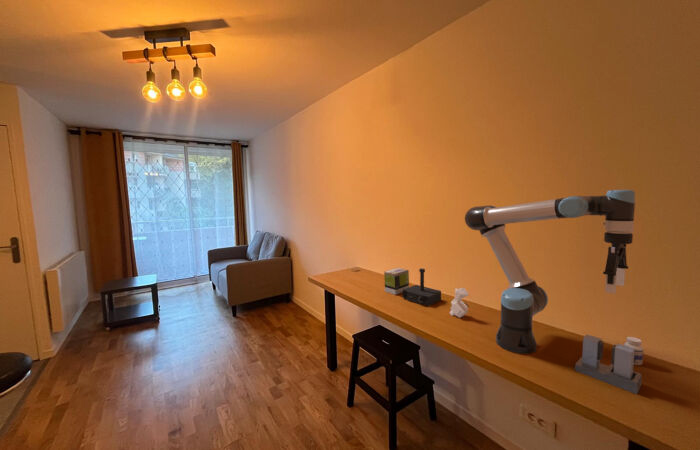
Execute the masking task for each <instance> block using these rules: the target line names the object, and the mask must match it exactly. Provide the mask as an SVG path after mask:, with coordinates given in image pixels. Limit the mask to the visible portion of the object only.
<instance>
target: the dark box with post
mask: <svg viewBox="0 0 700 450" xmlns="http://www.w3.org/2000/svg"><path fill="white" fill-rule="evenodd" d="M418 271H419V282H420V283H419V285H418V284H415V285H412V286H409V288H406V289H403V292H402V299H404V300H406V299H407V301H409V302H410V303H411V302H412V303H415V304H418V305H422V306H423V305H424V306H427V307H430V306H432V305H434V304H436V303H439V302H440V301H442V291H441V290H440V289H435V288H431V287H426V286H425V272H426V268H419V270H418Z"/></svg>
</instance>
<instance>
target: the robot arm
mask: <svg viewBox="0 0 700 450" xmlns="http://www.w3.org/2000/svg"><path fill="white" fill-rule="evenodd" d="M635 208H636V192H635V191H634V190H632V189H615V190H614V189H610V190H607V191H606V193H605V195H572V196H567V197H562V198H556V199H548V200H541V201H534V202H525V203H519V204H513V205H512V204H511V205H505V206H499V207H497V206H494V205H482V206H473V207H471V208H469V209H468V210H467V212H466V213H465V215H464V221H465V224H466V226H467V227H468V228H469V229H471V230H473V231H479V233H480V236H481V237H484V238H486V240H487V242H488V243H489V245H490V247H491V250H492V251H493V253H494V255H495V257H496V259H497V261H498V263H499V265H500V267H501V269H502V271H503V273H504V275H505V278H506V279H507V281H508V283H509V285H508V288H506V289H505V290H503V291H502V292H501V296H500V325H499V327H498V330H497V332H496V334H495V342H496V344H497V345H498V346H499V347H501V348H503V349H504V350H507V351H508V352H512V353H515V354H522V355H525V354H526V355H527V354H534V353H535V352H536V351H537V347H538V346H537V345H538V344H537V341H536V339H535V335H534V331H533V319H534V316H536V314H538V313H540V312H542V311H543V310H544V309H545V308H546V307H547V306H548V303H549V302H548V301H549V298H548V294H547V292H546V290H544V288H543V287H541V286H539V285H538V284H537V282H536V280H535V279H533V278H531V277H530V276H529V275H528V273H527V271H526V270H525V267H524V265H523V263H522V261H521V260H520V258H519V255H518V254H517V252H516V250H515V248H514V247H513V245H512V243H511V241H510V238H509V237H508V235H507V233H506V231H505V230H506V225H507V224H518V223H525V222H526V223H527V222H528V223H529V222H538V221H548V220H550V221H551V220H558V219H575V218H580V217H585V216H601V217H602V216H603V217H605V219H604V220H605V222H603V223H602V224H603V226H604V231H605V232H604V233H603V234H604V236H603V241H604V242H605V243H608V244H611V245H610V246H608V248H607V249H608V251H607V257H606V263H605V267H604V268H605V269H604V271H602V274H603V275H605V284H604V285H605V286H604V287H605V288H604V289H605V290H604V292H605V293H610V294H613V295H615V294H616V292H617V286H620V287H624V286H625V282H626V281H625V279H626V270H628V269H629V266H628V263H627V262H628V261H627V245H631V244H633V239H634V234H633V232H634V224H635Z"/></svg>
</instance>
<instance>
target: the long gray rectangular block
mask: <svg viewBox="0 0 700 450" xmlns="http://www.w3.org/2000/svg"><path fill="white" fill-rule="evenodd" d="M634 350H635V348H631V347H628V346H625V345H624V344H621V343H617V344H614V345H613V346H612V347H611V359H610V361H611V363H610V364H612V365H614V374H617V375H620V376H622V377H625V378H628V379H632V377H633V371H634V365H635V364H634Z"/></svg>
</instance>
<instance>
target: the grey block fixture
mask: <svg viewBox="0 0 700 450" xmlns="http://www.w3.org/2000/svg"><path fill="white" fill-rule="evenodd" d="M603 353H604V341H603V340H602V338H600V337H596V336H593V335H590V334H586V335H584V336H583V339H582V356H581V357H580V358H579V359H578V361H576V362H575V365H574V371H575V372H577V373H580V374H583V375H584V376H587V377H591V378H593V379H595V380H599V381H601V382H604V383H607V384H609V385H611V386H614V387H616V388H619V389H622V390H623V391H627V392H629V393H633V394H634V395H638V393H639V391H640V389H641V387H642V384H643V383H642V381H643V377H642V373H640V372H636V371H634V370H633V377H632V379H628V378H625V377H622V376H620V375H617V374H614V365H612V364H611V363H610V364H609V365H607V364H605V363H604V364H603V363H601V362H600V361H602V358H604V357H603V355H604V354H603Z"/></svg>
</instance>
